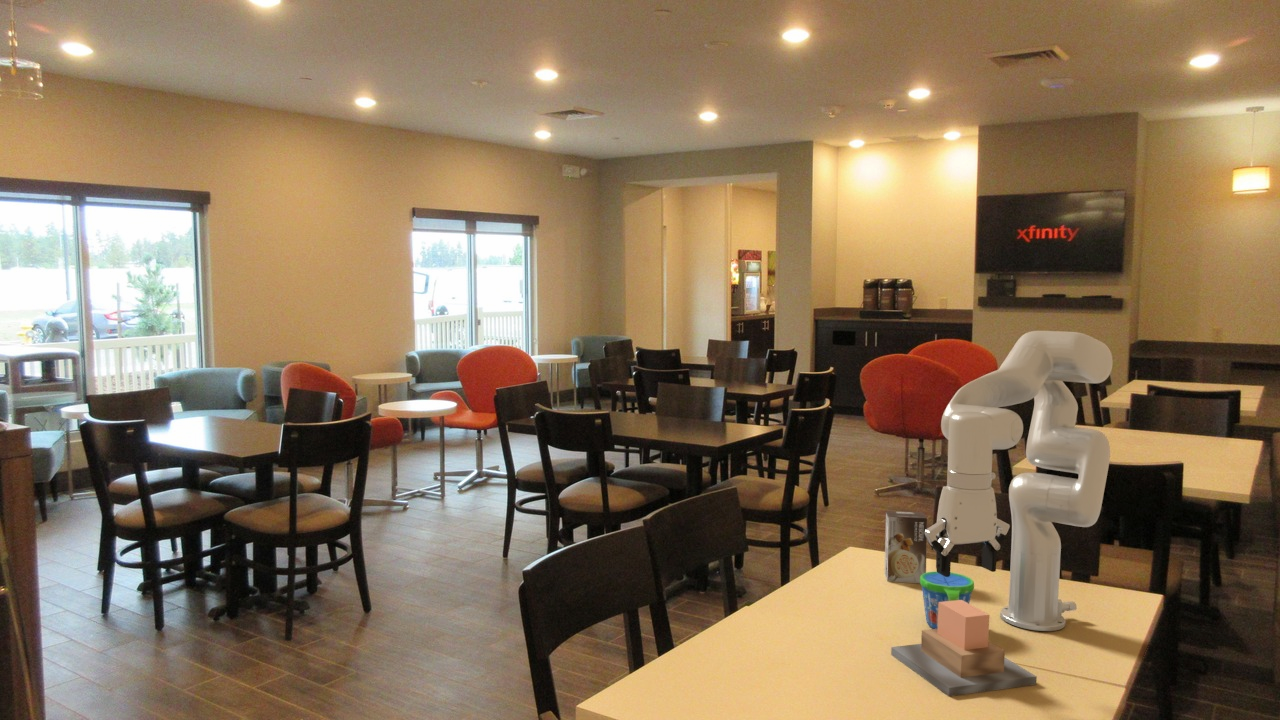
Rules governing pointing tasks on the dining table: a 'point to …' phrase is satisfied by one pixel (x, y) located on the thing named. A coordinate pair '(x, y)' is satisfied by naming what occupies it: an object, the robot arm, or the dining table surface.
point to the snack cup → (943, 592)
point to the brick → (963, 624)
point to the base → (957, 682)
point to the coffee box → (905, 546)
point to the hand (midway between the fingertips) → (966, 572)
